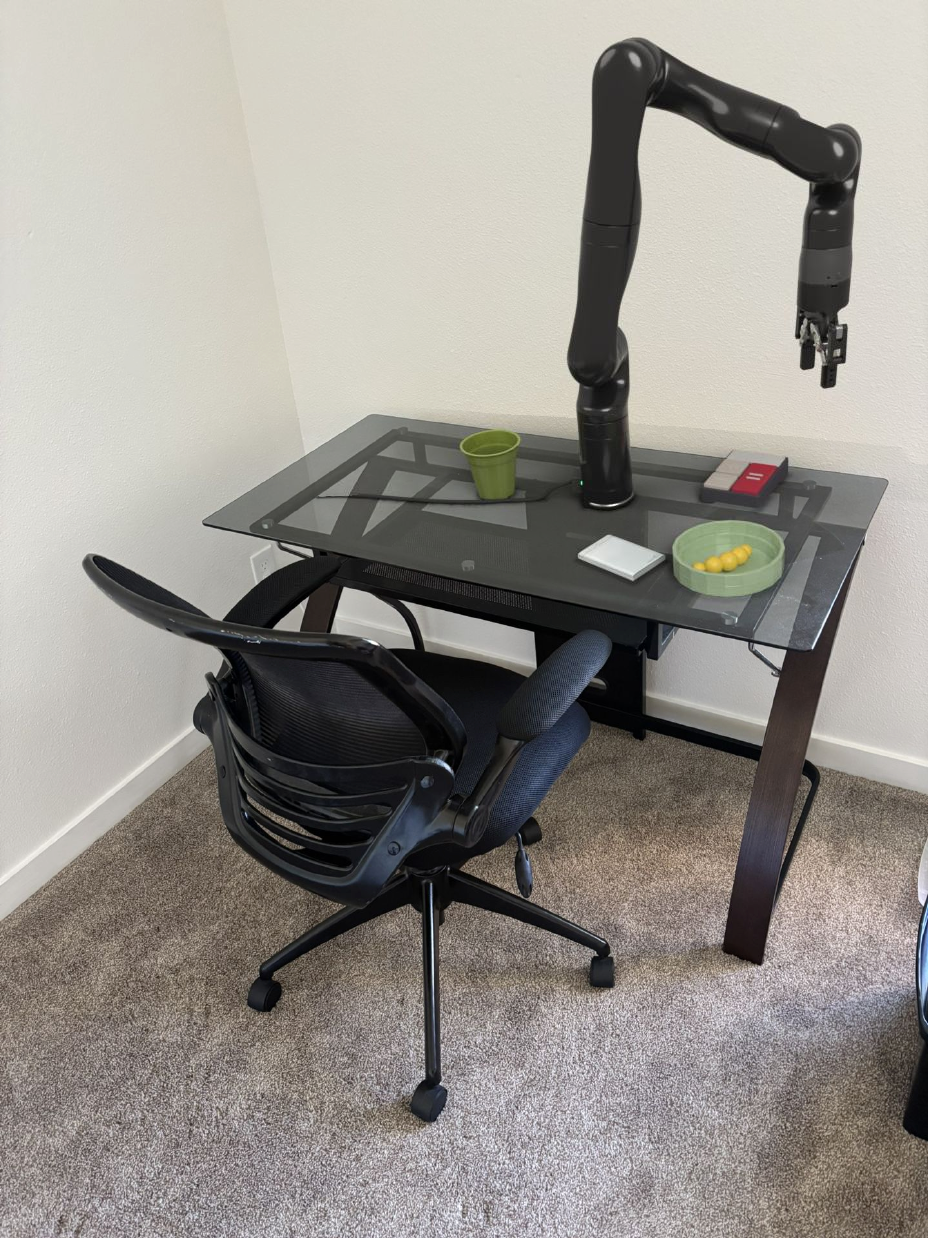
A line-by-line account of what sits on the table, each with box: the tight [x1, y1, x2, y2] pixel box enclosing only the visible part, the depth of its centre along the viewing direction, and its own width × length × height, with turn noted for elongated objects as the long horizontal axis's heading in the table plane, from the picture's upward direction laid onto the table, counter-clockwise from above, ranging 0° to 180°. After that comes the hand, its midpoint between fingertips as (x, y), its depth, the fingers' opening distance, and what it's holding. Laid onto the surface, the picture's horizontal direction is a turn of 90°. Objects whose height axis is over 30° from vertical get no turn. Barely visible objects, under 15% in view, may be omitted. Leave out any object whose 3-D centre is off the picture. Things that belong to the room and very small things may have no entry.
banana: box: [692, 544, 752, 573], centre depth 152 cm, size 12×4×3 cm, turn 113°
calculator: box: [700, 449, 789, 509], centre depth 174 cm, size 11×4×15 cm
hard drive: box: [577, 534, 666, 582], centre depth 160 cm, size 2×8×12 cm
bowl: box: [671, 519, 786, 598], centre depth 152 cm, size 17×17×4 cm
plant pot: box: [459, 429, 522, 500], centre depth 185 cm, size 12×12×11 cm
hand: (817, 377), depth 151 cm, fingers open, 8 cm apart
